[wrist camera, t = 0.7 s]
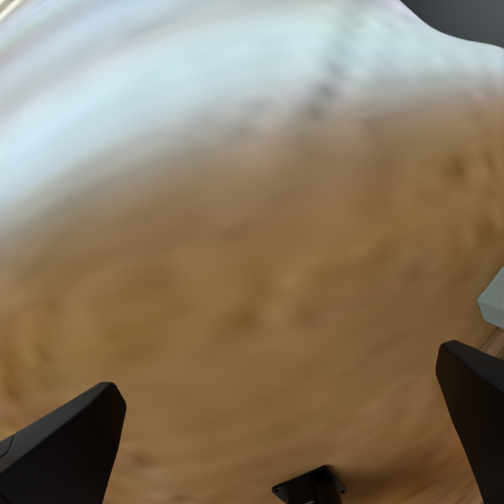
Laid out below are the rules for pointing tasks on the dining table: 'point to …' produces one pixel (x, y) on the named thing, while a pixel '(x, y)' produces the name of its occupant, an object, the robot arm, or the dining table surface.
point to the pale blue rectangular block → (493, 301)
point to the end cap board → (495, 344)
